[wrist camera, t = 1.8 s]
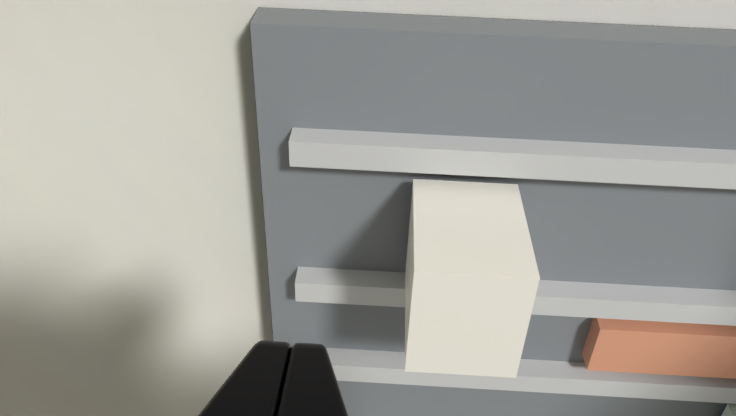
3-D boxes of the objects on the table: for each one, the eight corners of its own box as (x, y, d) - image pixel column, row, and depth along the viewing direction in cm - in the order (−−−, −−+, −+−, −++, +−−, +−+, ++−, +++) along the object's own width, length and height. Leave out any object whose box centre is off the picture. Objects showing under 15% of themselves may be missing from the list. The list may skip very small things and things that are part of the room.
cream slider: (517, 184, 19) (540, 277, 16) (499, 278, 21) (516, 378, 18) (412, 179, 19) (413, 270, 16) (405, 273, 22) (404, 371, 18)
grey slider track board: (1159, 49, 18) (1234, 82, 16) (832, 481, 30) (856, 525, 28) (258, 7, 18) (243, 35, 17) (287, 448, 30) (280, 490, 29)
